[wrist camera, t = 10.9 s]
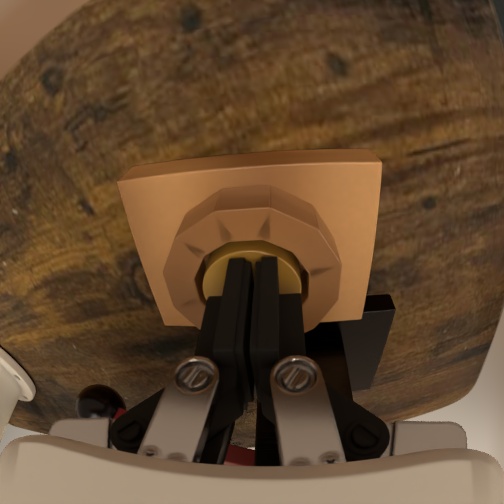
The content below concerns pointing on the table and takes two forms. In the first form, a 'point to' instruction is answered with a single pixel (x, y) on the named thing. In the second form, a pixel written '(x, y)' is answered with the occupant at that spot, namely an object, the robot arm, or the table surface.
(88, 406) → the lever handle
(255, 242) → the bell button
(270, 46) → the table surface
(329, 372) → the lever base
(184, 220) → the push button base
